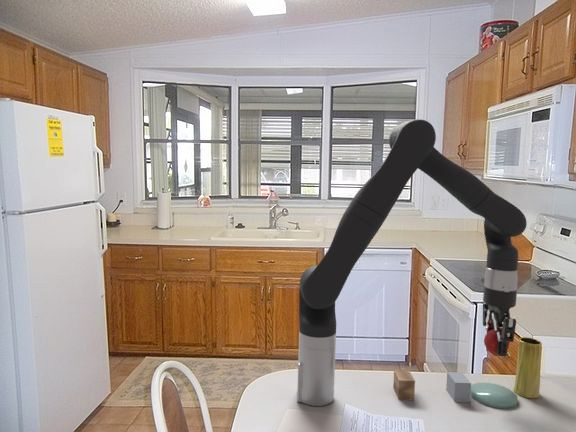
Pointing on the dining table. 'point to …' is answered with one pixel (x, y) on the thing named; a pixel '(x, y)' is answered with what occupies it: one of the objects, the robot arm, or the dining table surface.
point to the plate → (493, 395)
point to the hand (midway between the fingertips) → (495, 350)
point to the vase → (528, 368)
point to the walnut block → (404, 384)
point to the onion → (492, 341)
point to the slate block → (458, 387)
